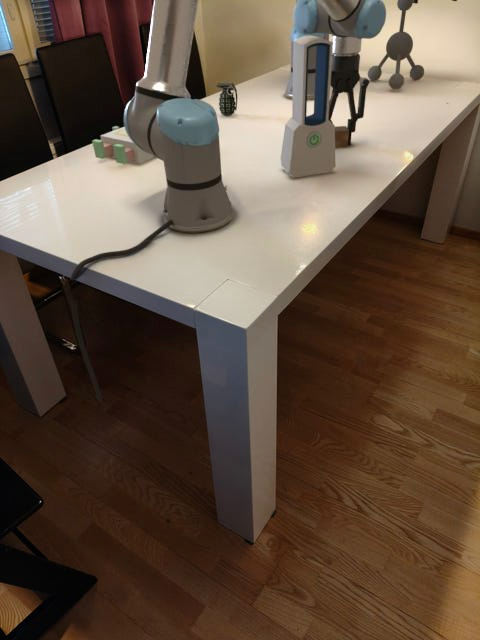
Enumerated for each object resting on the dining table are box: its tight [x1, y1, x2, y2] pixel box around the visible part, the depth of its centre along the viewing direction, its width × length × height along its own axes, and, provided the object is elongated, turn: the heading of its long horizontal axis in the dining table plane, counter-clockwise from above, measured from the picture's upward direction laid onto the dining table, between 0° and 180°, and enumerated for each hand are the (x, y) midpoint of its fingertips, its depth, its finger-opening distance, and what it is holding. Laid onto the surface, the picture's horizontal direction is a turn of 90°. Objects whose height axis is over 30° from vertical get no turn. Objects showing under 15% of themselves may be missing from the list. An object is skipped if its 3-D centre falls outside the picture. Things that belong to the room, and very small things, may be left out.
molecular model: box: [367, 0, 425, 91], centre depth 184 cm, size 24×22×30 cm
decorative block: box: [91, 125, 156, 165], centre depth 142 cm, size 26×6×20 cm
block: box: [335, 125, 349, 149], centre depth 139 cm, size 4×4×5 cm
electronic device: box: [280, 35, 336, 179], centre depth 117 cm, size 12×8×30 cm, turn 105°
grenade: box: [215, 82, 238, 117], centre depth 166 cm, size 7×6×10 cm
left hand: (338, 144), depth 140 cm, fingers open, 5 cm apart
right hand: (434, 2), depth 170 cm, fingers open, 13 cm apart
